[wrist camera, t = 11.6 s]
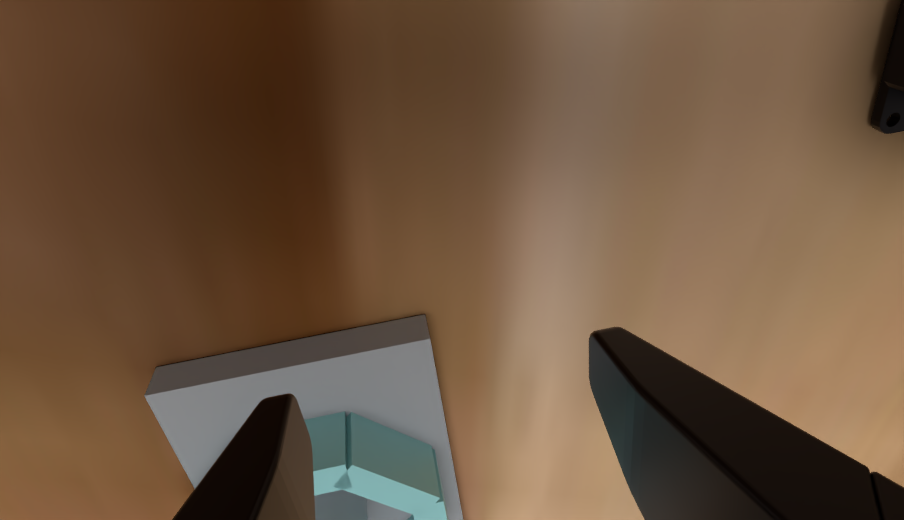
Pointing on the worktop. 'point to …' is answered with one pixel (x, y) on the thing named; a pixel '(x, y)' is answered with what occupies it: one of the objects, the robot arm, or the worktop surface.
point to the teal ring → (376, 465)
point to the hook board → (311, 399)
